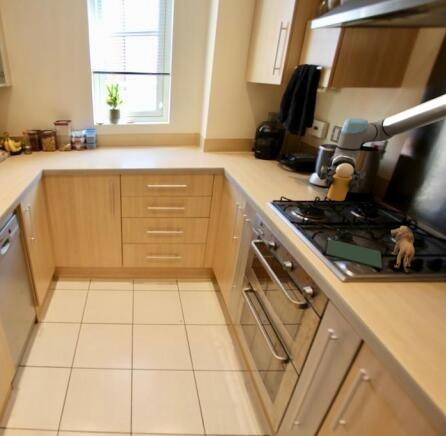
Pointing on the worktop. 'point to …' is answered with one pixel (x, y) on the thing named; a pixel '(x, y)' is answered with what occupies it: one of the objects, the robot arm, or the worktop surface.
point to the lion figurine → (403, 246)
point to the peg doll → (340, 182)
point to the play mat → (354, 253)
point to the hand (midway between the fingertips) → (340, 186)
